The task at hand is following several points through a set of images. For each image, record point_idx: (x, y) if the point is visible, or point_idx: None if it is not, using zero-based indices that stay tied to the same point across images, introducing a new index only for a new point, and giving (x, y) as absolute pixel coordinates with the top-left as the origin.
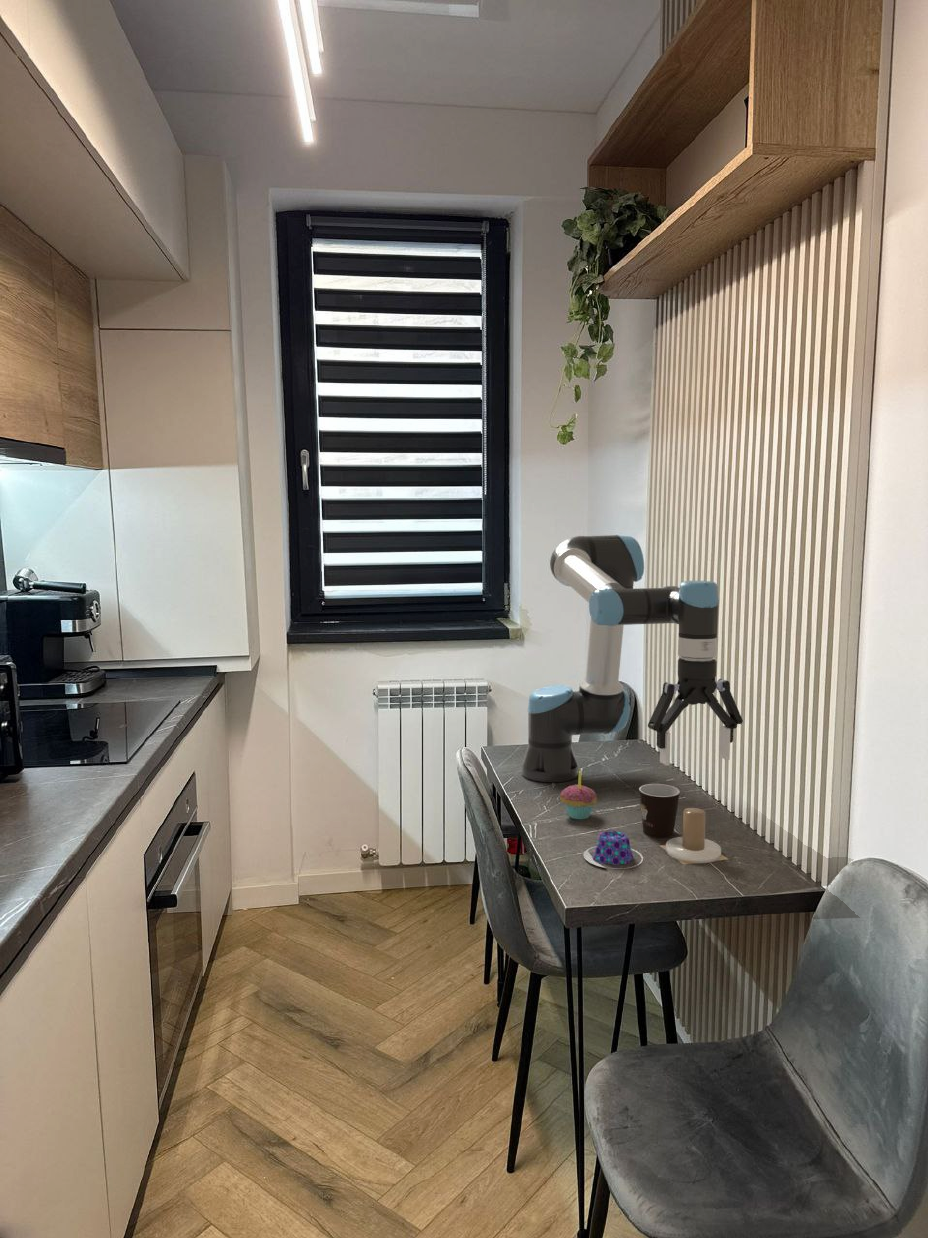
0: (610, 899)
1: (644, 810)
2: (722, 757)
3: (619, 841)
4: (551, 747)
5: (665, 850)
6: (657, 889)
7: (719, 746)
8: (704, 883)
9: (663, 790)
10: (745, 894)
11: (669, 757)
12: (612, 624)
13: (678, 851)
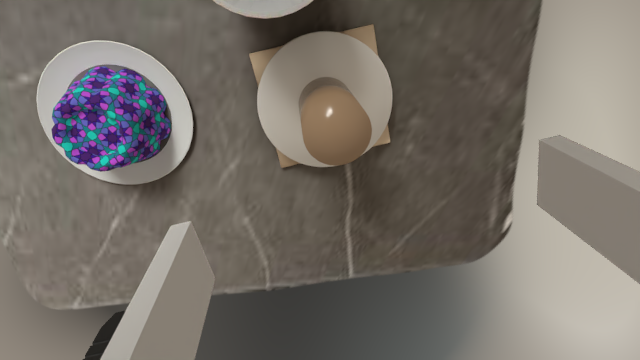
0: (110, 289)
1: None
2: (540, 175)
3: (111, 165)
4: None
5: (258, 85)
6: None
7: (583, 164)
8: (300, 235)
9: None
10: (357, 273)
11: (205, 309)
12: None
13: (279, 131)
